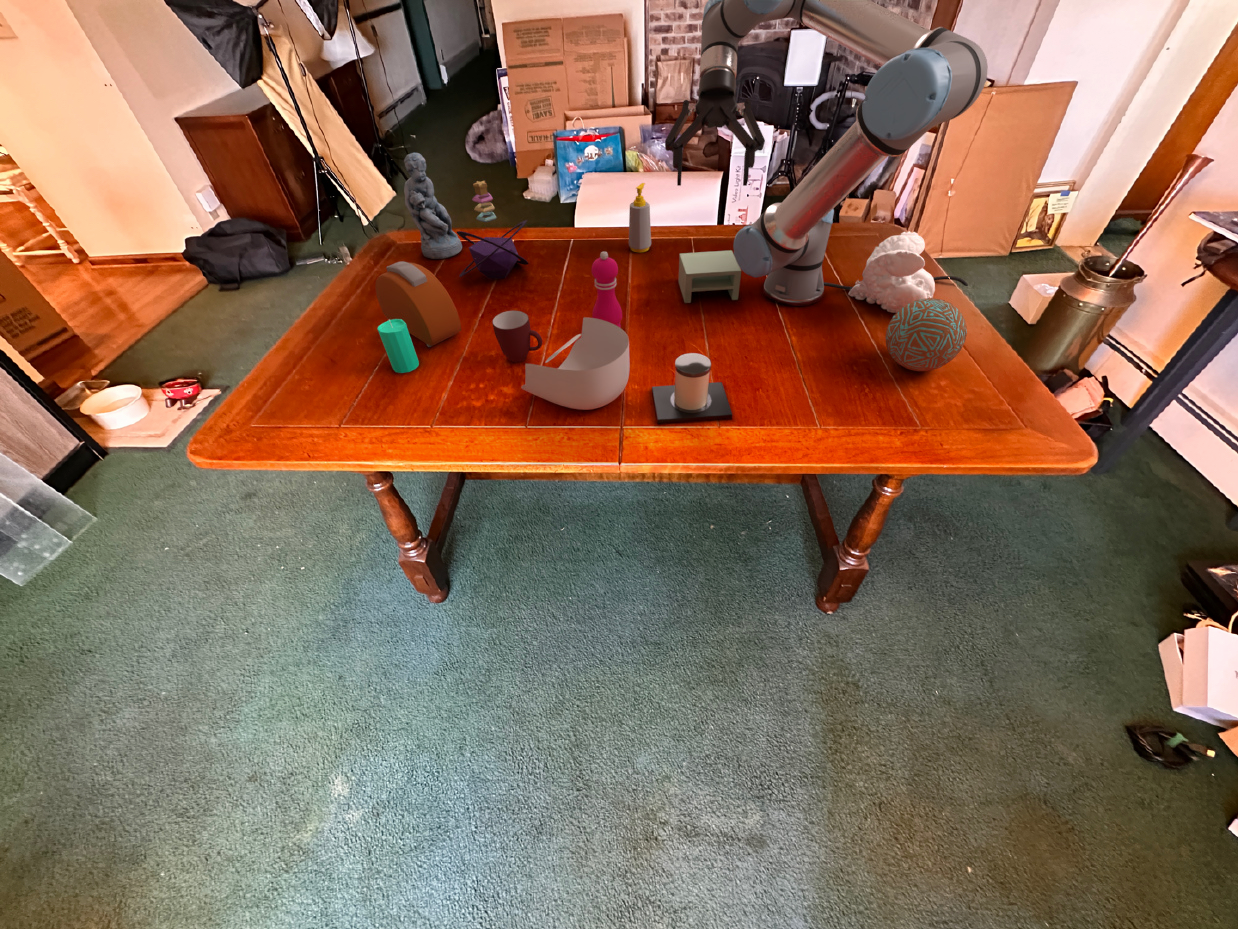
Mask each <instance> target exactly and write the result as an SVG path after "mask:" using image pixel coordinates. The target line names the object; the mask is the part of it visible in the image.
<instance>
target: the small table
mask: <svg viewBox="0 0 1238 929" xmlns="http://www.w3.org/2000/svg"><path fill="white" fill-rule="evenodd" d="M678 257H679V258H678V278H677V279H678V280H677V281H678V286H679V288H680V292H681V295H682V299H683V302H684V304H691V303H692V292H706V291H708V292H709V291H710V292H711V291H722V290H724V291H725V290H726V291H727V292H728V294H729V297H730V299H731V301H738V300H739V294H740V286H741V279H742V269H741V268H740V267H739V265H738V263H737V261H736V258H735V255H734V251H733V249H732V250H731V249H730V250H717V251H700V252H684V253H679V256H678Z"/></svg>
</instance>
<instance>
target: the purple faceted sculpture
mask: <svg viewBox="0 0 1238 929" xmlns="http://www.w3.org/2000/svg"><path fill="white" fill-rule="evenodd" d="M472 185H473V188H474V192H475V195H474V196H473V197H472V199H471V201H472V202H475V203H478V204H477V205H476V206H475V207H474V209H473V210H474V211H476V212H478V213H480V214H478V215H477V217H476V218H475V219H476V220H477V221H480V222H482V223H488V222H492V221H495V220H496V219H497V216H496V214H495V213H494V212H493V211H494V210H495V208H496V207H495V206H494V204H493V203H492V201H493V200H494V198H493V196H492V194H490V192H488V185H487V182H486V180H482V181H480V180H479V181H478V180H477V181H476V182H474V183H473V184H472ZM527 222H528V219H525V220H522V221H521V222H518V223H517V224H516V225H514V226H513V227H512V228H510V229H509V230H508V231H507V232H506V233H504V234H503V235H502V236H499V237H496V236H495V237H491V236H485V237H481V236H478V235H475V234H473V233H470V232H466V231H462V230H458V231H456V234H457V236H458V237H460V238H462V239H463V240H465V241H467V242H468V243H470V244H472V245H471V246H469V247H468V250H469V253H470V256H471V258H472V259H473V260H472V262H470V263H469V264H468V265H467V266H466V267H465V268H464V269H463V270H462V272H460V274H459V275H458V276H459V278H462V277H465V276H466V275H467V274H469V273H471V272H472V271H473V270H475V269H476V268H477V270H478V272H479V273H481V274H482V275H483V276H484V277H486V278H487V279H488V280H504V279H506V277H507V276H508V275H509V274H510V273H511V272H512V270H513V268H514V267H515V265H516V264H519V265H524V266H527V265H529V264H530V263H529V261H527V259H525V258H524V257H522V256H521V255H519V253H518V251H517V249H516V246H515V243H514V241H513V237H514V236H515V235H516V234H517V233H519V232H520V230H521V229H523V228H524V226H525V225H526V224H527ZM518 227H519V228H518ZM516 229H517V230H516ZM481 230H482V231H484V230H485V229H482V228H481ZM514 230H515V231H514ZM512 231H514V232H513V233H512V234H511V235H510V237H505V236H507V235H509V234H510V233H511V232H512ZM468 237H471V238H474V239H477V240H478V241H477V242H475V241H473V240H472V239H470V238H468ZM473 264H474V266H473V267H472V268H470V267H471V266H472V265H473ZM468 269H469V270H468Z"/></svg>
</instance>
